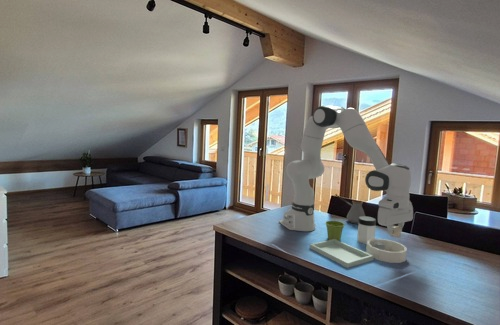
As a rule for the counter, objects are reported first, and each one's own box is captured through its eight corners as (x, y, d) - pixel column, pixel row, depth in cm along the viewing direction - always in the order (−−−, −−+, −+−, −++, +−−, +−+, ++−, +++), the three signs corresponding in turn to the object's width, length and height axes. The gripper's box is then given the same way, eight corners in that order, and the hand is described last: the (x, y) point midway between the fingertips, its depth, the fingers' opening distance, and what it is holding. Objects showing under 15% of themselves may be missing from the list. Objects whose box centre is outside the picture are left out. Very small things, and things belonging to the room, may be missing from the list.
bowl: (358, 252, 133) (359, 242, 133) (380, 246, 142) (381, 236, 141) (391, 267, 120) (392, 255, 119) (413, 259, 128) (414, 248, 127)
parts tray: (309, 249, 135) (310, 244, 135) (334, 243, 144) (334, 238, 143) (347, 269, 117) (347, 263, 116) (373, 261, 125) (373, 255, 124)
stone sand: (387, 234, 127) (387, 226, 127) (393, 233, 130) (393, 225, 129) (396, 237, 124) (397, 229, 123) (402, 236, 126) (403, 228, 125)
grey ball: (371, 250, 134) (372, 243, 134) (377, 249, 136) (378, 241, 136) (380, 254, 130) (381, 246, 130) (386, 252, 133) (387, 244, 132)
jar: (356, 237, 153) (358, 215, 152) (373, 239, 151) (375, 217, 150) (357, 243, 145) (359, 220, 144) (375, 245, 142) (376, 222, 141)
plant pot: (321, 239, 149) (321, 222, 148) (330, 235, 156) (331, 219, 155) (337, 244, 142) (338, 227, 141) (346, 240, 149) (348, 223, 148)
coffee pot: (369, 222, 181) (370, 198, 179) (361, 226, 173) (362, 201, 171) (337, 214, 196) (338, 192, 194) (328, 218, 188) (330, 195, 186)
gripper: (404, 197, 133) (402, 227, 134) (375, 202, 123) (373, 234, 124) (418, 200, 128) (415, 231, 129) (389, 205, 117) (387, 238, 119)
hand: (394, 232), depth 127 cm, fingers closed on stone sand, 4 cm apart
